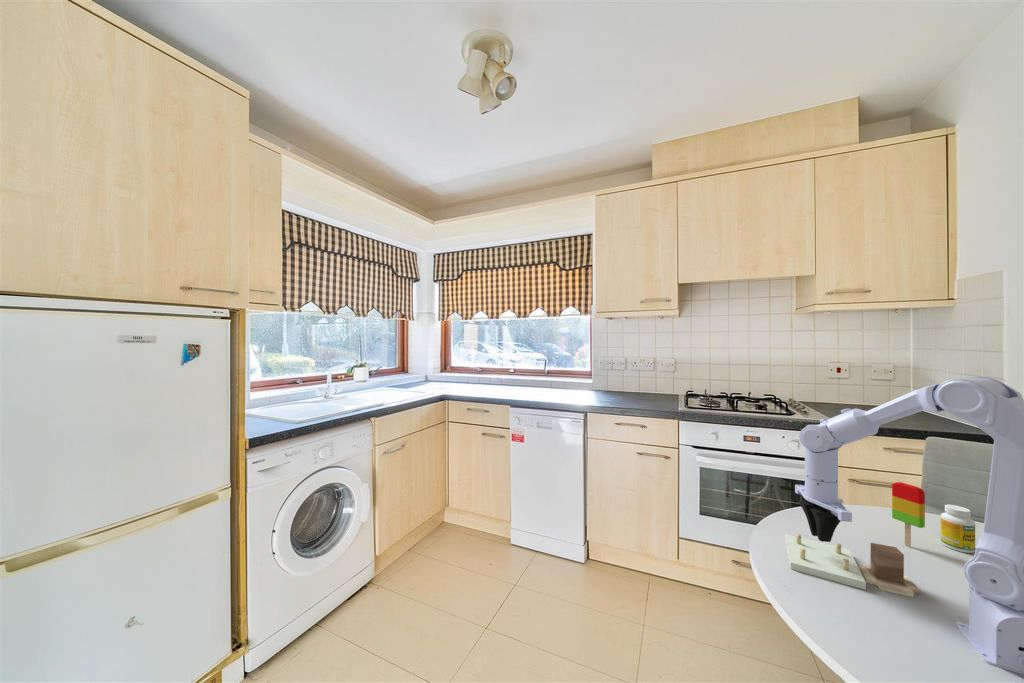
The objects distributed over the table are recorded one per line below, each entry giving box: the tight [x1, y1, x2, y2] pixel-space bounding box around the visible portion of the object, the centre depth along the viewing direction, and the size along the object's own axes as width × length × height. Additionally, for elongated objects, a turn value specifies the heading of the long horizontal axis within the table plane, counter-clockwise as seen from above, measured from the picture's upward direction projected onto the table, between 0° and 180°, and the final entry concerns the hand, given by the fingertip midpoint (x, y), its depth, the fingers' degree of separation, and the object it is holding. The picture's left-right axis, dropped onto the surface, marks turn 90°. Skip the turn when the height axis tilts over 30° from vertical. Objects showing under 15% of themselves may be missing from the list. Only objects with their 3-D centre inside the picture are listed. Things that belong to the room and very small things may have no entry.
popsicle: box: [891, 481, 926, 548], centre depth 89 cm, size 6×2×15 cm, turn 16°
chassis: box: [784, 533, 867, 591], centre depth 82 cm, size 14×12×4 cm
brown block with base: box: [857, 542, 921, 598], centre depth 76 cm, size 8×8×7 cm
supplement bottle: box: [940, 504, 976, 554], centre depth 88 cm, size 5×5×10 cm
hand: (820, 538), depth 82 cm, fingers closed
